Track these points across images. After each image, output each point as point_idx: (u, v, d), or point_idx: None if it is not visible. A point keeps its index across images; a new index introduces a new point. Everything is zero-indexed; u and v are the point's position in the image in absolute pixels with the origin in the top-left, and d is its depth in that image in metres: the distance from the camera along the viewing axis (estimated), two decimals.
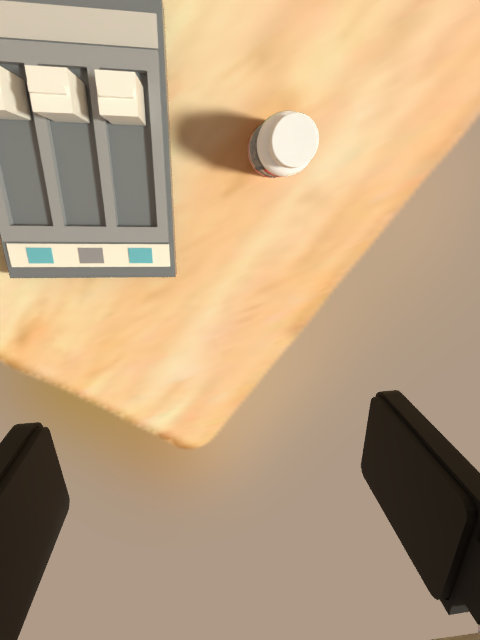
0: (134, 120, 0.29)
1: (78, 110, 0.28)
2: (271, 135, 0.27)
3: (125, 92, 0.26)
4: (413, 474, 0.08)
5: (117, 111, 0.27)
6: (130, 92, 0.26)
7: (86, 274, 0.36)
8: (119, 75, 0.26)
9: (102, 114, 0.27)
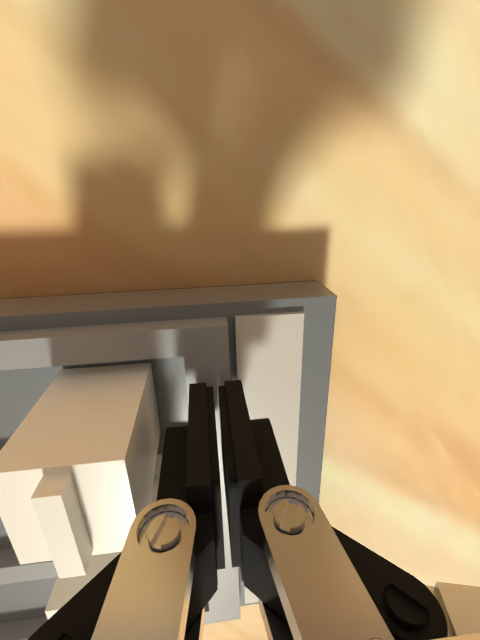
0: None
1: None
2: None
3: None
4: (224, 454, 0.09)
5: None
6: None
7: None
8: None
9: None
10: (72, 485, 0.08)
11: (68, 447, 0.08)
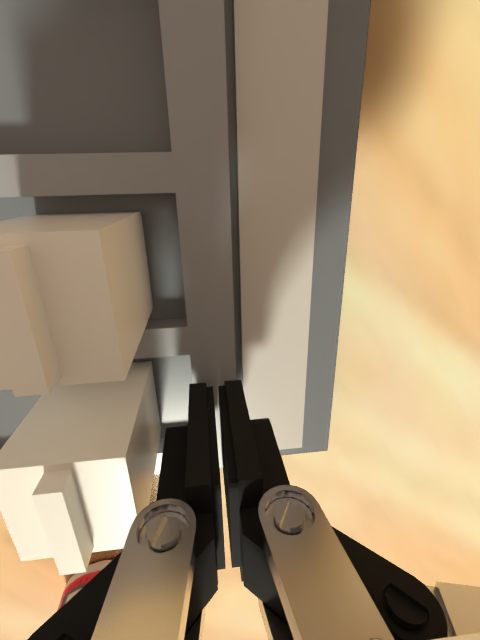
0: None
1: None
2: None
3: (67, 558, 0.08)
4: (224, 454, 0.09)
5: (15, 515, 0.08)
6: (72, 569, 0.08)
7: None
8: (124, 516, 0.08)
9: None
10: None
11: None
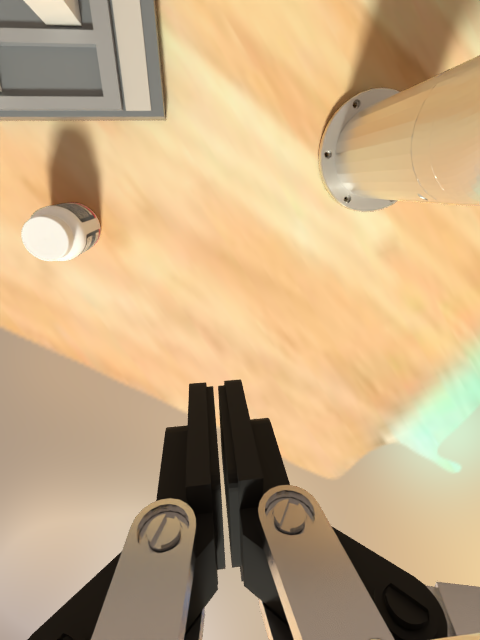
0: None
1: (37, 8, 0.27)
2: (44, 216, 0.29)
3: None
4: (224, 454, 0.09)
5: None
6: None
7: None
8: None
9: None
10: None
11: None
